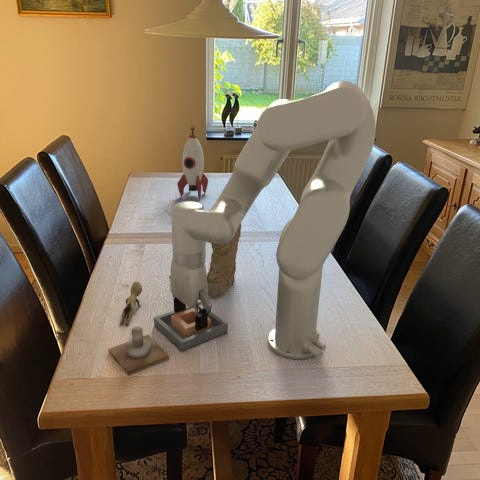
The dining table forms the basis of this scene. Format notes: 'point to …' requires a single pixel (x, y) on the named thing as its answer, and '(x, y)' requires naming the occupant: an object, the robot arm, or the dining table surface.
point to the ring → (186, 323)
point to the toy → (193, 167)
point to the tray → (183, 343)
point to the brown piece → (138, 353)
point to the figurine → (131, 302)
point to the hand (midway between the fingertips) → (190, 319)
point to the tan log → (222, 266)
